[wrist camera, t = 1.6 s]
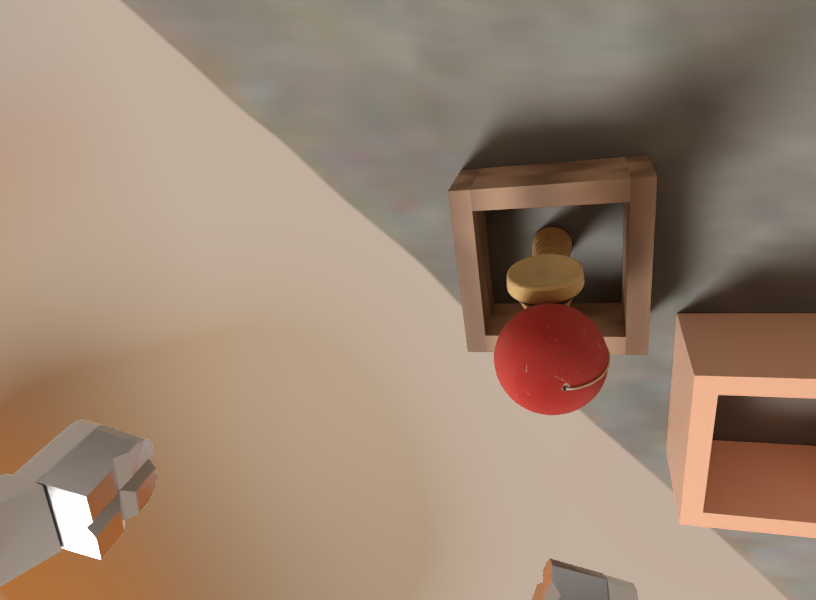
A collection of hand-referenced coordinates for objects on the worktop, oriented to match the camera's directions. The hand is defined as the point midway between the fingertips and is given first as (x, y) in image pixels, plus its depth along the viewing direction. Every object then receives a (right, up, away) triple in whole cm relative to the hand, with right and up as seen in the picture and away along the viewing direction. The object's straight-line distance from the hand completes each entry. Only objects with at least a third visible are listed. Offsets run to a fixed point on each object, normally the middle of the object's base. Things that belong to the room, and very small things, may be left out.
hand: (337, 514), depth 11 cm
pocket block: (+13, +8, +32) cm, 35 cm away
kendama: (+13, +8, +32) cm, 36 cm away
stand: (+30, -3, +33) cm, 45 cm away
